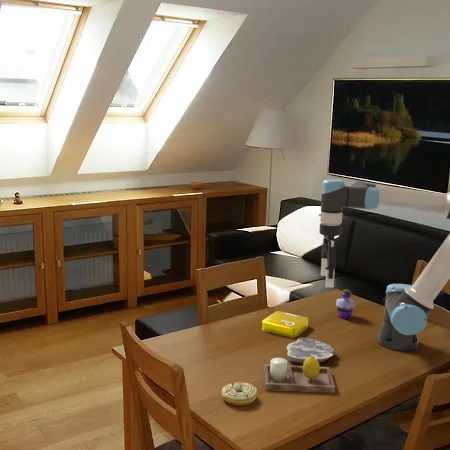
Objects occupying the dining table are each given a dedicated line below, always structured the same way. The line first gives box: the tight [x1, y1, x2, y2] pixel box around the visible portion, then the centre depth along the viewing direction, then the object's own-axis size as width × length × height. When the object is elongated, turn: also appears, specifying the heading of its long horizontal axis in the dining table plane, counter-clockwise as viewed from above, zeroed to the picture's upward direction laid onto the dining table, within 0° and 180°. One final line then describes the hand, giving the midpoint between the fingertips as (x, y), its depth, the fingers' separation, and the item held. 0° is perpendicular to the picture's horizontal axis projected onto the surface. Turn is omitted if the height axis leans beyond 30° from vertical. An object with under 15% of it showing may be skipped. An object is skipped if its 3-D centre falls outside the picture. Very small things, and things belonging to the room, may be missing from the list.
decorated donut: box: [221, 381, 258, 407], centre depth 178 cm, size 10×11×4 cm
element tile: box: [261, 310, 309, 339], centre depth 234 cm, size 15×15×5 cm
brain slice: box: [285, 337, 336, 365], centre depth 209 cm, size 20×17×3 cm
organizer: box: [263, 364, 336, 394], centre depth 190 cm, size 22×14×2 cm, turn 88°
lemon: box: [302, 357, 321, 380], centre depth 189 cm, size 6×6×8 cm
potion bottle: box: [335, 288, 356, 320], centre depth 247 cm, size 9×9×12 cm
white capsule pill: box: [269, 357, 289, 383], centre depth 189 cm, size 6×6×6 cm
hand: (326, 281), depth 208 cm, fingers open, 13 cm apart
